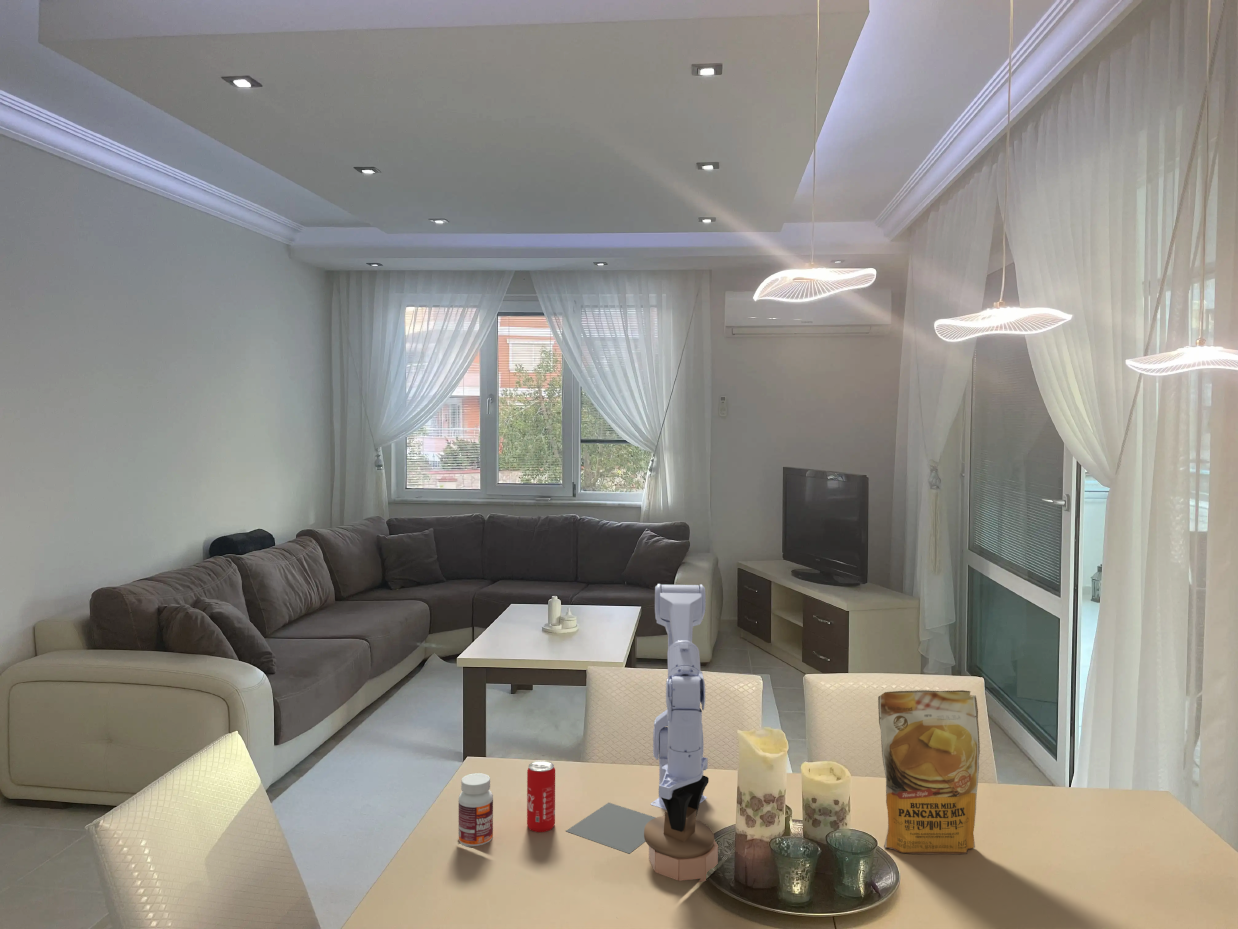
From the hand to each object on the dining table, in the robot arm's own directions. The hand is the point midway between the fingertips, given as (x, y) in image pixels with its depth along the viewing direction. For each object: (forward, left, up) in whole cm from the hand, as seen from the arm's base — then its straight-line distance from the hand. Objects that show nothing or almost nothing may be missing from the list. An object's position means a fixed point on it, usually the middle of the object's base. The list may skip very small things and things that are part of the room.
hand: (683, 824), depth 141 cm
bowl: (0, 0, -7) cm, 7 cm away
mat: (-4, -16, -7) cm, 18 cm away
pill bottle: (+14, -35, -7) cm, 38 cm away
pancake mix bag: (-31, +33, -7) cm, 46 cm away
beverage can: (+4, -28, -7) cm, 29 cm away
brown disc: (0, -1, -3) cm, 3 cm away
